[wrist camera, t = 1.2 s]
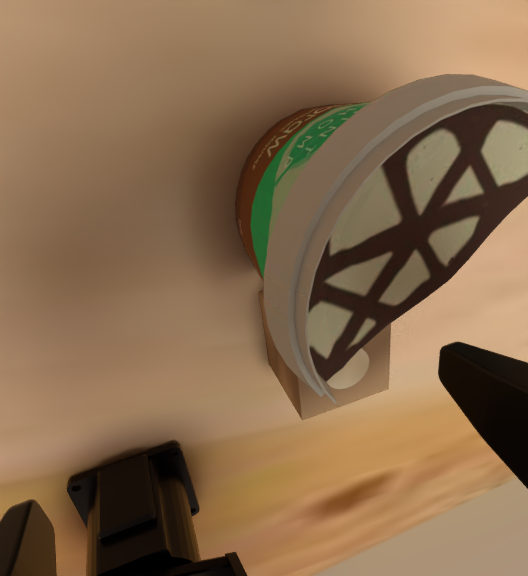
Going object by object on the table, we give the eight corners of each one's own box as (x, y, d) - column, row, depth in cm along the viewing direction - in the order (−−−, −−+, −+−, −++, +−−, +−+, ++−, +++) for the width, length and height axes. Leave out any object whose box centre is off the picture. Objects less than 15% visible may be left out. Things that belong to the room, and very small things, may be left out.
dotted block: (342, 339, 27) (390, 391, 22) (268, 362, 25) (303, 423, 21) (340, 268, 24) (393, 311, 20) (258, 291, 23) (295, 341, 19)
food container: (353, 9, 18) (569, -48, 10) (412, 122, 22) (613, 152, 13) (152, 207, 19) (194, 310, 11) (239, 287, 22) (323, 415, 14)
